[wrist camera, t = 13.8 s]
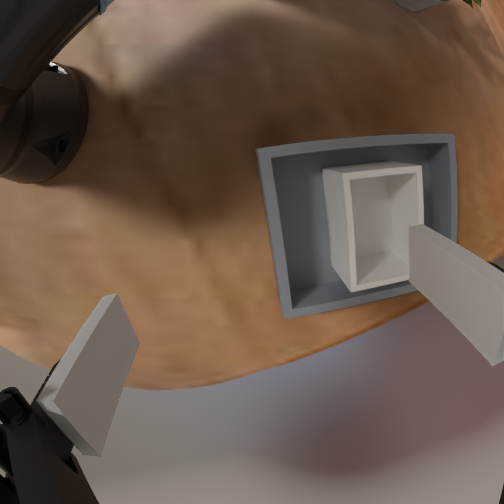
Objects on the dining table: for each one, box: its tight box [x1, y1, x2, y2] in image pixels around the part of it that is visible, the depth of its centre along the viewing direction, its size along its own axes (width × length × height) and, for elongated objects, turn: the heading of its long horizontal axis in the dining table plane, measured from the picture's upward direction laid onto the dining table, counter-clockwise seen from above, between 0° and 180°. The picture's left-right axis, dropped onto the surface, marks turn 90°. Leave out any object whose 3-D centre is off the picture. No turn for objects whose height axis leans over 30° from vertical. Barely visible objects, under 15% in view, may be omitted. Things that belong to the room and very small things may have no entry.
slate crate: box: [255, 133, 458, 319], centre depth 31 cm, size 17×21×6 cm
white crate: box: [321, 161, 424, 292], centre depth 29 cm, size 11×8×7 cm
